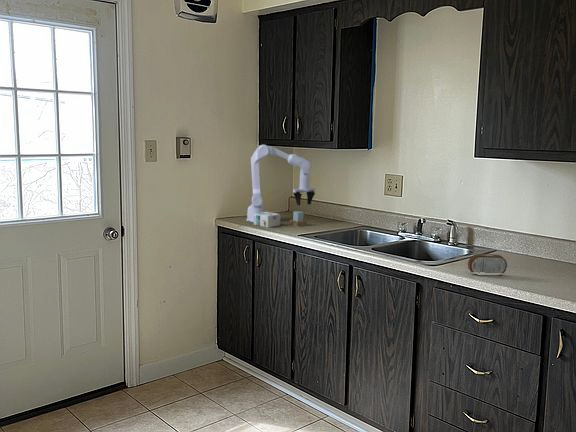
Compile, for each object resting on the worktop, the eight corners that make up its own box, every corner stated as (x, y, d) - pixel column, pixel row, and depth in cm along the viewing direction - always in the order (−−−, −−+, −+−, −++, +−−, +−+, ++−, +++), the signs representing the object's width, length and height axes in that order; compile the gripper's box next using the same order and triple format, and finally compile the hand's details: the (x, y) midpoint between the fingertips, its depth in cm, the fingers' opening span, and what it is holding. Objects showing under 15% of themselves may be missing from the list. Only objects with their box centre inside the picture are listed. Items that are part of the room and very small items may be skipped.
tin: (503, 274, 239) (505, 254, 238) (507, 276, 236) (509, 255, 235) (466, 273, 239) (468, 253, 237) (469, 275, 236) (471, 254, 234)
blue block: (293, 220, 338) (293, 211, 337) (298, 219, 341) (298, 211, 340) (297, 221, 335) (298, 212, 334) (303, 220, 338) (303, 212, 337)
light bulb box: (268, 215, 326) (253, 213, 333) (267, 228, 327) (253, 225, 334) (280, 213, 334) (266, 211, 341) (280, 225, 335) (266, 222, 342)
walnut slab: (289, 225, 339) (289, 220, 339) (299, 224, 343) (299, 219, 343) (296, 227, 334) (297, 222, 333) (306, 226, 338) (307, 221, 337)
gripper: (298, 182, 337) (297, 206, 339) (318, 181, 345) (317, 204, 347) (291, 181, 343) (290, 204, 345) (311, 180, 351) (310, 203, 353)
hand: (303, 204), depth 347 cm, fingers open, 7 cm apart
